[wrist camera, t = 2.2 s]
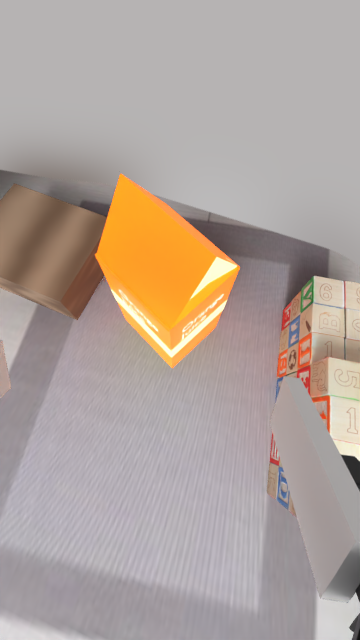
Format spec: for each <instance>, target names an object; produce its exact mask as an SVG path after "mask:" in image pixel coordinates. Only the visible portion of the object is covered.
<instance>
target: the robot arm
mask: <svg viewBox="0 0 360 640" xmlns="http://www.w3.org/2000/svg"><path fill="white" fill-rule="evenodd" d="M10 388H11V384H10V379H9V374H8V368H7V363H6V358H5V353H4V347H3V342H2V340H0V398H1V397H2V396H3V395H4V394H5V393H6V392H7V391H8V390H9V389H10ZM270 425H271V429H272V432H273V436H274V439H275V443H276V446H277V450H278V453H279V457H280V460H281V463H282V467H283V470H284V474H285V477H286V481H287V484H288V488H289V491H290V495H291V498H292V502H293V505H294V509H295V512H296V516H297V519H298V523H299V526H300V530H301V533H302V537H303V540H304V544H305V547H306V551H307V554H308V558H309V561H310V565H311V568H312V572H313V575H314V579H315V582H316V586H317V589H318V593H319V596H320V599H326V600H333V601H339V602H346V603H348V602H349V601H350V599H351V598H352V597H353V595H354V594H355V592H356V594H357V596H358V599H359V601H360V461H359V460H358V459H357V458H356V457H355V456H349V455H341V454H340V453H339V451H338V449H337V447H336V445H335V443H334V441H333V439H332V437H331V435H330V434H329V432H328V430H327V428H326V426H325V424H324V422H323V420H322V418H321V416H320V414H319V412H318V411H317V409H316V407H315V405H314V403H313V401H312V399H311V397H310V395H309V393H308V391H307V390H306V388H305V386H304V384H303V382H302V380H301V378H293V377H286V376H284V377H283V380H282V383H281V387H280V390H279V393H278V396H277V400H276V403H275V406H274V409H273V413H272V416H271V419H270ZM349 628H350V629H351V630H352V631H353V632H354V634H353V638H352V640H360V613H359V615H358V616H357V617H356V619H355V620H354V621H353V623H352V624H351V626H350V627H349Z"/></svg>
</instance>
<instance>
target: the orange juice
mask: <svg viewBox="0 0 360 640" xmlns="http://www.w3.org/2000/svg"><path fill="white" fill-rule="evenodd" d="M95 256H96V259H97V260H98V262H99V264H100V267H101V269H102V271H103V273H104V275H105V277H106V279H107V281H108V283H109V285H110V287H111V291H112V293H113V295H114V297H115V299H116V300H117V302H118V304H119V306H120V308H121V310H122V313H123V315H124V317H125V319H126V320H127V321H128V322H129V323H130V324H131V325H132V326H133V327H134V328H135V330H136V331H137V332H138V333H139V334H140V335H141V336H142V337H143V338H144V339H145V340H146V341H147V342H148V343H149V344H150V345H151V346H152V347H153V349H154V350H155V351H156V352H157V353H158V354H159V355H160V356H161V357H162V358H163V359H164V360H165V361H166V362H167V363H168V364H169V365H170V366H171V368H173V367H174V366H175V365H176V364H177V363H178V362H179V361H180V360H182V359H183V358H184V357H185V356H186V355H187V354H188V353H189V352H190V351H191V350H192V349H193V348H194V347H195V346H196V345H197V344H199V343H200V342H201V341H202V340H203V339H204V338H205V337H206V336H207V335H208V334H209V333H210V332H211V331H212V330H213V329H214V328H215V327H216V325H217V322H218V320H219V317H220V315H221V313H222V310H223V309H224V307H225V304H226V302H227V298H228V296H229V293H230V291H231V288H232V286H233V284H234V281H235V279H236V276H237V274H238V271H239V269H240V266H238V265H237V264H236V263H235V262H234V261H232V260H231V259H230V258H229V257H228V256H227V255H225V254H224V253H223V252H222V251H221V250H220V249H218V248H217V247H216V246H215V245H214V244H213V243H211V242H210V241H209V240H208V239H207V238H206V237H204V236H203V235H202V234H201V233H200V232H199V231H197V230H196V229H195V228H194V227H193V226H192V225H190V224H189V223H188V222H187V221H186V220H185V219H183V218H182V217H181V216H180V215H179V214H178V213H176V212H175V211H174V210H173V209H172V208H170V207H169V206H168V205H167V204H166V203H164V202H163V201H161V200H160V199H158V198H157V197H155V196H154V195H152V194H151V193H149V192H147V191H146V190H145V189H143V188H142V187H140V186H139V185H137V184H136V183H134V182H133V181H131V180H130V179H128V178H126V177H125V176H124V175H122V174H120V176H119V180H118V184H117V187H116V190H115V193H114V197H113V200H112V203H111V207H110V210H109V214H108V217H107V220H106V224H105V227H104V231H103V234H102V237H101V241H100V244H99V247H98V251H97V253H96V254H95Z"/></svg>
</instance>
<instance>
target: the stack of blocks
mask: <svg viewBox="0 0 360 640" xmlns="http://www.w3.org/2000/svg"><path fill="white" fill-rule="evenodd" d="M284 376H286V377H293V378H301V380H302V382H303V384H304V386H305V388H306V390H307V391H308V393H309V395H310V397H311V399H312V401H313V403H314V405H315V407H316V409H317V411H318V412H319V414H320V416H321V418H322V420H323V422H324V424H325V426H326V428H327V430H328V432H329V434H330V435H331V437H332V439H333V441H334V443H335V445H336V447H337V449H338V451H339V453H340V454H341V455H349V456H355V457H356V458H357V459H358V460H359V461H360V283H355V282H350V281H341V280H336V279H330V278H324V277H319V276H313V277H312V278H311V279H310V280H309V281H308V282H307V283H306V284H305V286H304V287H303V288H302V289H301V291H300V292H299V293H298V294H297V296H296V297H295V298H294V299H293V300H292V302H291V303H289V304H288V305H287V307H286V308H285V309H284V310H283V320H282V332H281V336H280V349H279V359H278V370H277V379H278V380H277V390H276V400H277V396H278V393H279V390H280V387H281V383H282V380H283V377H284ZM275 403H276V401H275ZM267 493H268V494H269V495H270V496H271V497H273V498H274V499H275V500H277V501H278V502H279V503H281V504H282V505H283V506H284V507H285V508H287V509H288V510H289V511H290V513H292V514H293V515H294V516H295V517H296V518H297V516H296V512H295V509H294V505H293V502H292V498H291V495H290V491H289V488H288V484H287V481H286V477H285V474H284V470H283V467H282V463H281V460H280V457H279V453H278V450H277V446H276V443H275V439H274V436H273V433H272V443H271V454H270V464H269V474H268V485H267Z"/></svg>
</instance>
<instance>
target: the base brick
mask: <svg viewBox="0 0 360 640" xmlns="http://www.w3.org/2000/svg"><path fill="white" fill-rule="evenodd" d="M106 220H107V217H105V216H103V215H100V214H97V213H94V212H92V211H89V210H86V209H83V208H81V207H78V206H75V205H72V204H70V203H67V202H64V201H61V200H59V199H56V198H53V197H50V196H48V195H45V194H42V193H39V192H37V191H34V190H31V189H28V188H26V187H23V186H20V185H17V184H15V183H14V185H13V186H12V187H11V188H10V189H9V191H8V192H7V193H6V194H5V195H4V197H3V198H2V199H1V200H0V288H2V289H5V290H7V291H9V292H12V293H14V294H17V295H19V296H21V297H24V298H26V299H28V300H31V301H33V302H36V303H38V304H40V305H43V306H45V307H48V308H50V309H52V310H55V311H57V312H59V313H62V314H64V315H67V316H69V317H71V318H74V319H76V320H78V318H79V317H80V315H81V313H82V312H83V310H84V308H85V307H86V305H87V303H88V301H89V300H90V298H91V296H92V295H93V293H94V291H95V289H96V288H97V286H98V284H99V283H100V281H101V279H102V278H103V276H104V273H103V271H102V269H101V267H100V264H99V262H98V260H97V259H96V256H95V254H96V253H97V251H98V247H99V244H100V241H101V237H102V234H103V231H104V227H105V224H106Z"/></svg>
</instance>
